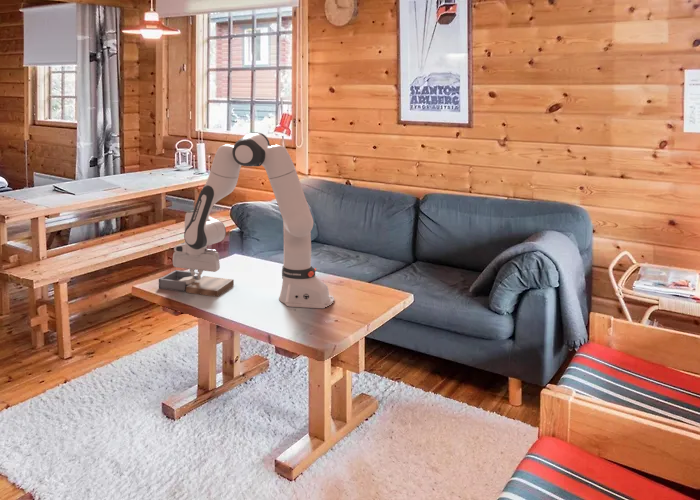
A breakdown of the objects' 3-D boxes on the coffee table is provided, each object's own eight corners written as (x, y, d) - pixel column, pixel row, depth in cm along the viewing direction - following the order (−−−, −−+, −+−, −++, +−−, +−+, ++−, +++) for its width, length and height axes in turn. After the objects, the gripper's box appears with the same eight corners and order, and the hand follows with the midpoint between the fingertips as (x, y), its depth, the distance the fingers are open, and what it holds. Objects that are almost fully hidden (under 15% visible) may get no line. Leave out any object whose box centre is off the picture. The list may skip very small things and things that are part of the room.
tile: (197, 280, 273) (196, 275, 273) (190, 284, 268) (189, 279, 267) (185, 281, 275) (184, 277, 274) (178, 285, 269) (177, 281, 269)
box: (200, 281, 278) (200, 273, 277) (184, 291, 265) (184, 282, 263) (175, 278, 280) (175, 270, 279) (158, 288, 267) (158, 279, 266)
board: (233, 285, 275) (233, 279, 274) (217, 296, 260) (217, 290, 259) (203, 281, 278) (203, 275, 278) (185, 292, 263) (185, 286, 263)
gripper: (222, 248, 267) (222, 279, 270) (177, 243, 271) (178, 274, 275) (215, 252, 261) (215, 284, 264) (170, 246, 265) (171, 278, 269)
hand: (196, 279), depth 270 cm, fingers closed
